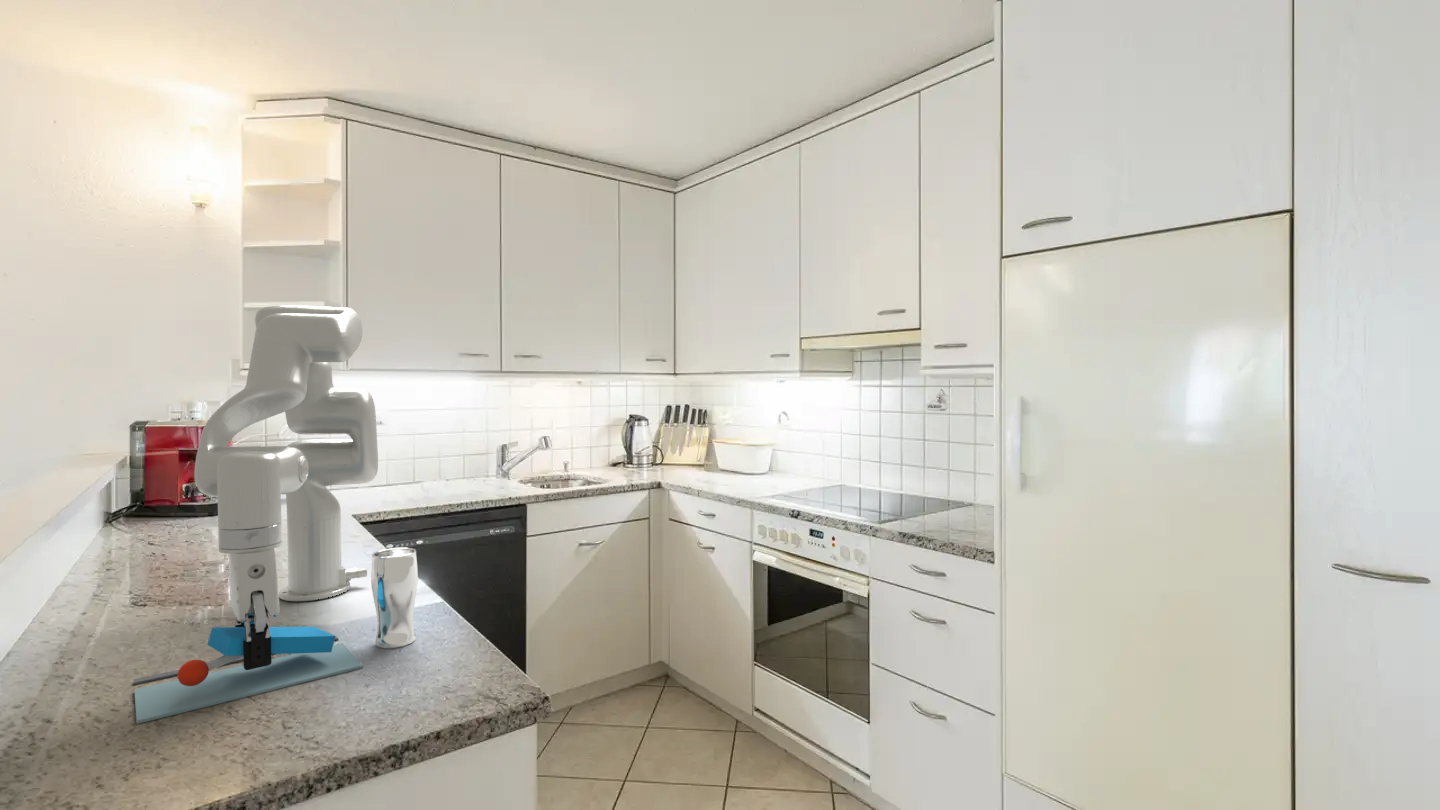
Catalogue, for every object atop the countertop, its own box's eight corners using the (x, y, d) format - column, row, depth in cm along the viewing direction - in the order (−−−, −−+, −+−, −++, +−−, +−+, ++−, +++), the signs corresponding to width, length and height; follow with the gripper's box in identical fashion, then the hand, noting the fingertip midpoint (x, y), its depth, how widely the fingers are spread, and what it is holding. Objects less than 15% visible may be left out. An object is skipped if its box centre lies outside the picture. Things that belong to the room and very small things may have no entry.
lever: (302, 672, 108) (165, 680, 94) (314, 626, 110) (181, 627, 95) (323, 683, 104) (183, 693, 90) (335, 636, 106) (200, 638, 91)
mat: (342, 645, 113) (342, 643, 113) (362, 667, 104) (362, 665, 104) (134, 692, 95) (134, 689, 95) (136, 723, 86) (136, 720, 86)
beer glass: (427, 638, 116) (426, 549, 116) (392, 652, 110) (391, 559, 109) (398, 632, 119) (397, 545, 118) (362, 645, 113) (361, 554, 112)
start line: (335, 637, 116) (335, 635, 116) (338, 640, 115) (338, 638, 115) (133, 681, 99) (133, 679, 99) (134, 684, 98) (134, 682, 98)
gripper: (292, 543, 95) (294, 669, 96) (271, 525, 108) (273, 635, 109) (226, 552, 90) (228, 685, 91) (212, 531, 103) (214, 647, 104)
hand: (253, 657), depth 100 cm, fingers closed on lever, 7 cm apart
